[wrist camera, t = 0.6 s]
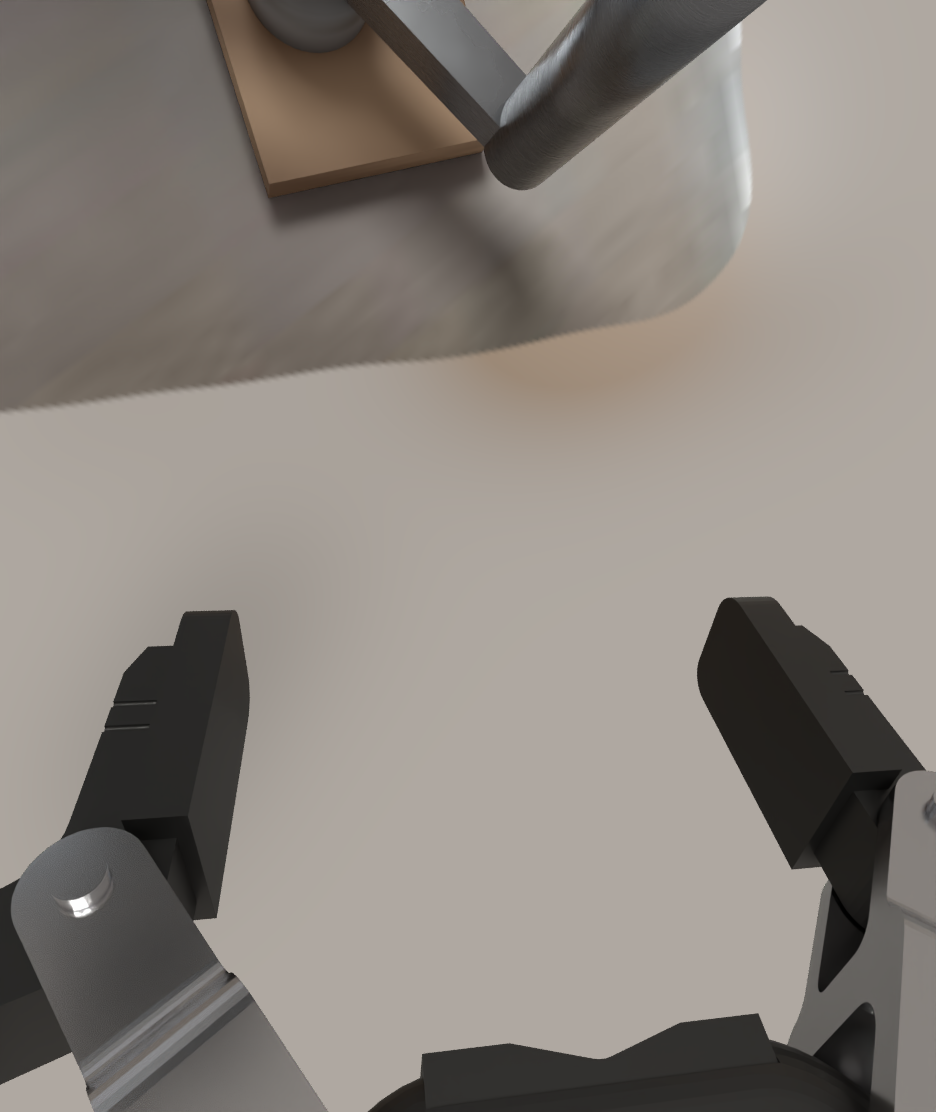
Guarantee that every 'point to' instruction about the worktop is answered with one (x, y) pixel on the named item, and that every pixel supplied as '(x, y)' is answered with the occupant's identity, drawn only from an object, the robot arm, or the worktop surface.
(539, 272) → the worktop surface
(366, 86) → the cracker base
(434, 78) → the lever
